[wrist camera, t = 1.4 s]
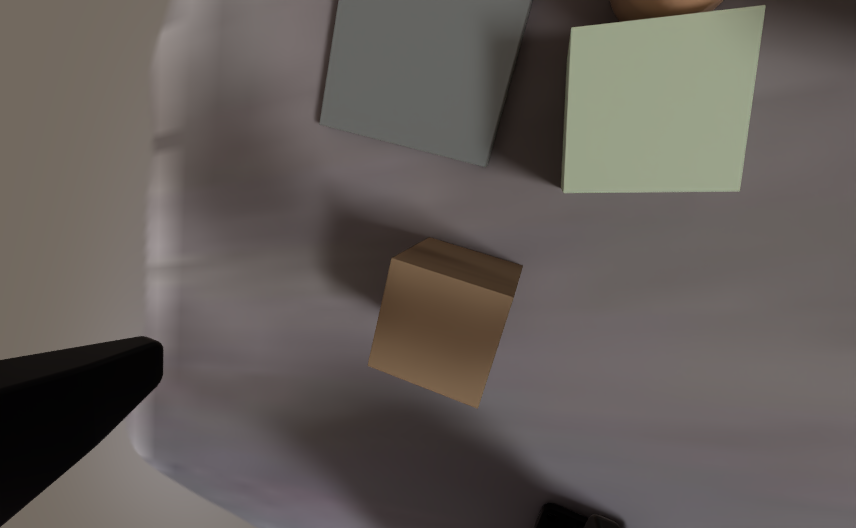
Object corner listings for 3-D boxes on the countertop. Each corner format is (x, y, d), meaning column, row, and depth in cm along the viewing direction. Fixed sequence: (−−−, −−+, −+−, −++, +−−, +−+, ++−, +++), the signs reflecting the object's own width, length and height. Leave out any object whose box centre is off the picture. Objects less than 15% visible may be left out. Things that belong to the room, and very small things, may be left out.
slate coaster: (486, 167, 18) (484, 167, 17) (325, 125, 20) (319, 124, 19) (544, -43, 16) (544, -50, 15) (356, -69, 17) (350, -77, 17)
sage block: (695, 186, 16) (739, 191, 12) (560, 188, 17) (563, 192, 14) (711, 46, 15) (765, 4, 11) (566, 60, 16) (571, 27, 12)
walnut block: (495, 352, 20) (477, 408, 15) (409, 321, 21) (367, 365, 16) (523, 265, 18) (513, 297, 14) (430, 237, 19) (391, 257, 15)
